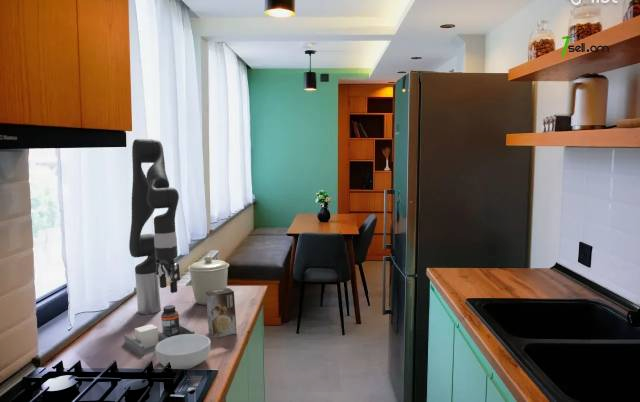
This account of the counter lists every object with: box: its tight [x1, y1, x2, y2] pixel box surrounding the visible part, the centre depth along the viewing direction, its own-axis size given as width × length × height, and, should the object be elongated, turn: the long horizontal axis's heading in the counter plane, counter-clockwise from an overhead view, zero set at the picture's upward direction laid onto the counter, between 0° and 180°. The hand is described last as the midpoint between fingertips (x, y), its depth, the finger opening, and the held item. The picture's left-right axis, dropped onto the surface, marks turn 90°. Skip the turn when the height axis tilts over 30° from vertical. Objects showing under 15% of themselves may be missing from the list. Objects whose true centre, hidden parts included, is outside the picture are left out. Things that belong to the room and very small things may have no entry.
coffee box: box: [206, 287, 238, 339], centre depth 180 cm, size 9×6×16 cm
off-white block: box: [134, 323, 159, 349], centre depth 168 cm, size 5×6×6 cm
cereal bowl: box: [155, 333, 212, 370], centre depth 155 cm, size 17×17×7 cm
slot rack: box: [123, 322, 195, 357], centre depth 171 cm, size 15×20×4 cm
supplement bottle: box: [160, 304, 180, 337], centre depth 174 cm, size 6×6×11 cm
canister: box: [187, 255, 230, 306], centre depth 220 cm, size 18×18×21 cm
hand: (168, 289), depth 173 cm, fingers open, 8 cm apart
